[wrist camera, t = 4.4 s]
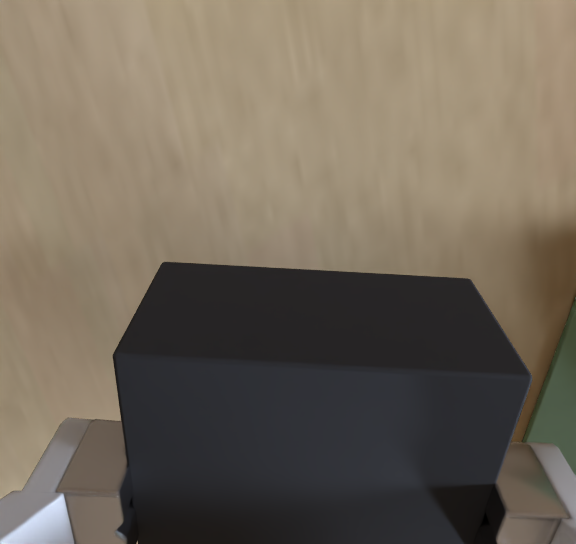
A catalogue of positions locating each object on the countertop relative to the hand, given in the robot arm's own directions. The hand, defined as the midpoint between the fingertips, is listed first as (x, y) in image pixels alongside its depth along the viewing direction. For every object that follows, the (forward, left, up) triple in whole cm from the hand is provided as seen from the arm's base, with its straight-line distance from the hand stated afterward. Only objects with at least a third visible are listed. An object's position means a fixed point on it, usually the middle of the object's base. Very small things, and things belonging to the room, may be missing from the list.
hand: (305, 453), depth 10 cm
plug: (+1, 0, -2) cm, 2 cm away
